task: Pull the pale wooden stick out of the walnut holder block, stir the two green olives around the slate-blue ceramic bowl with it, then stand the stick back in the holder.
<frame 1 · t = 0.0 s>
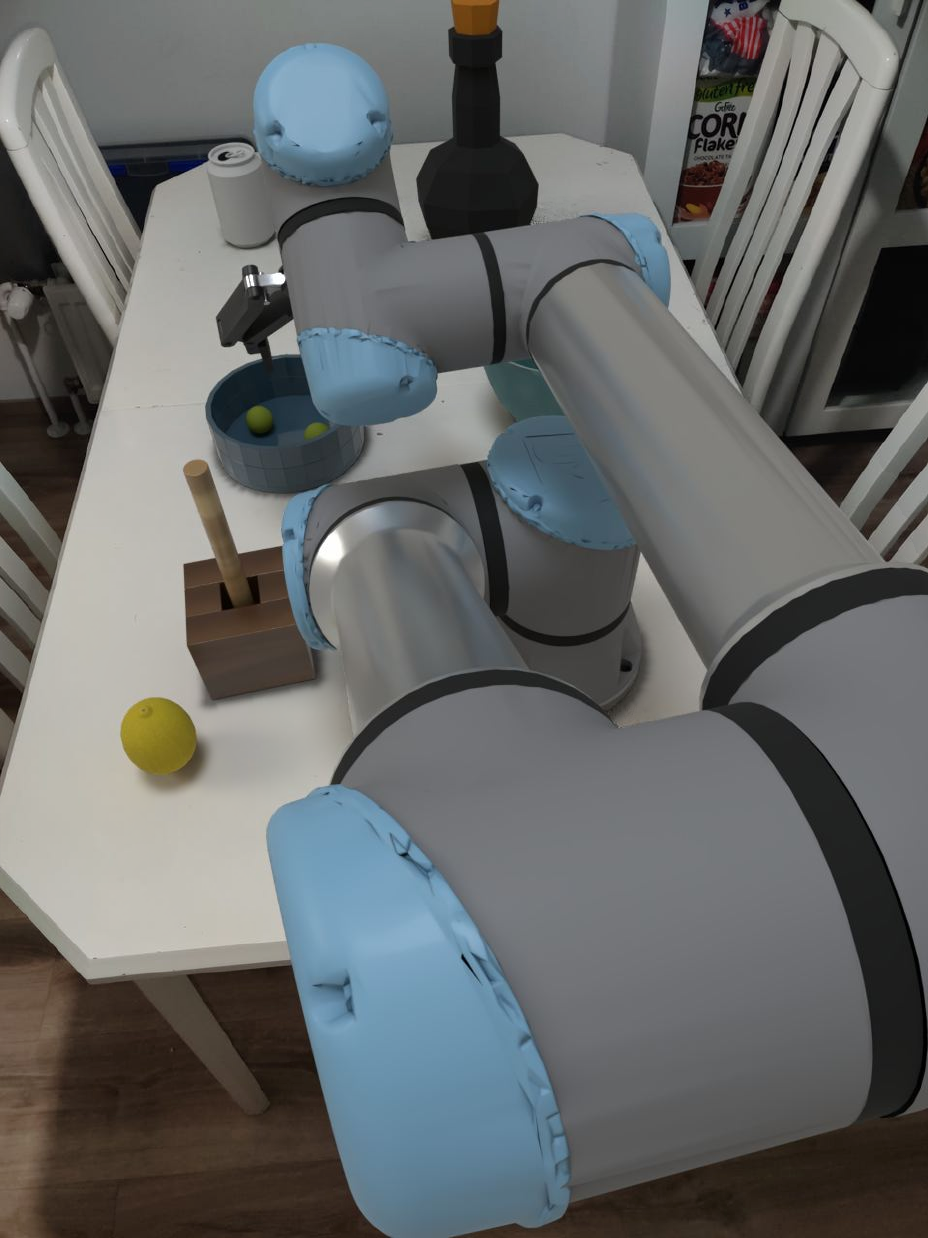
hand: (339, 346, 82), 15 cm above the table, tool tilted 35°, fingers open, 13 cm apart
bottle: (477, 249, 122), on the table
stick holder: (259, 648, 80), on the table
stick: (231, 569, 71), in the stick holder
olive a: (259, 419, 96), point 2 cm above the table, touching bowl
olive b: (318, 436, 94), point 2 cm above the table, touching bowl
can: (250, 238, 126), on the table
lemon: (174, 762, 73), on the table
plant pot: (556, 416, 99), on the table
bowl: (292, 442, 97), on the table
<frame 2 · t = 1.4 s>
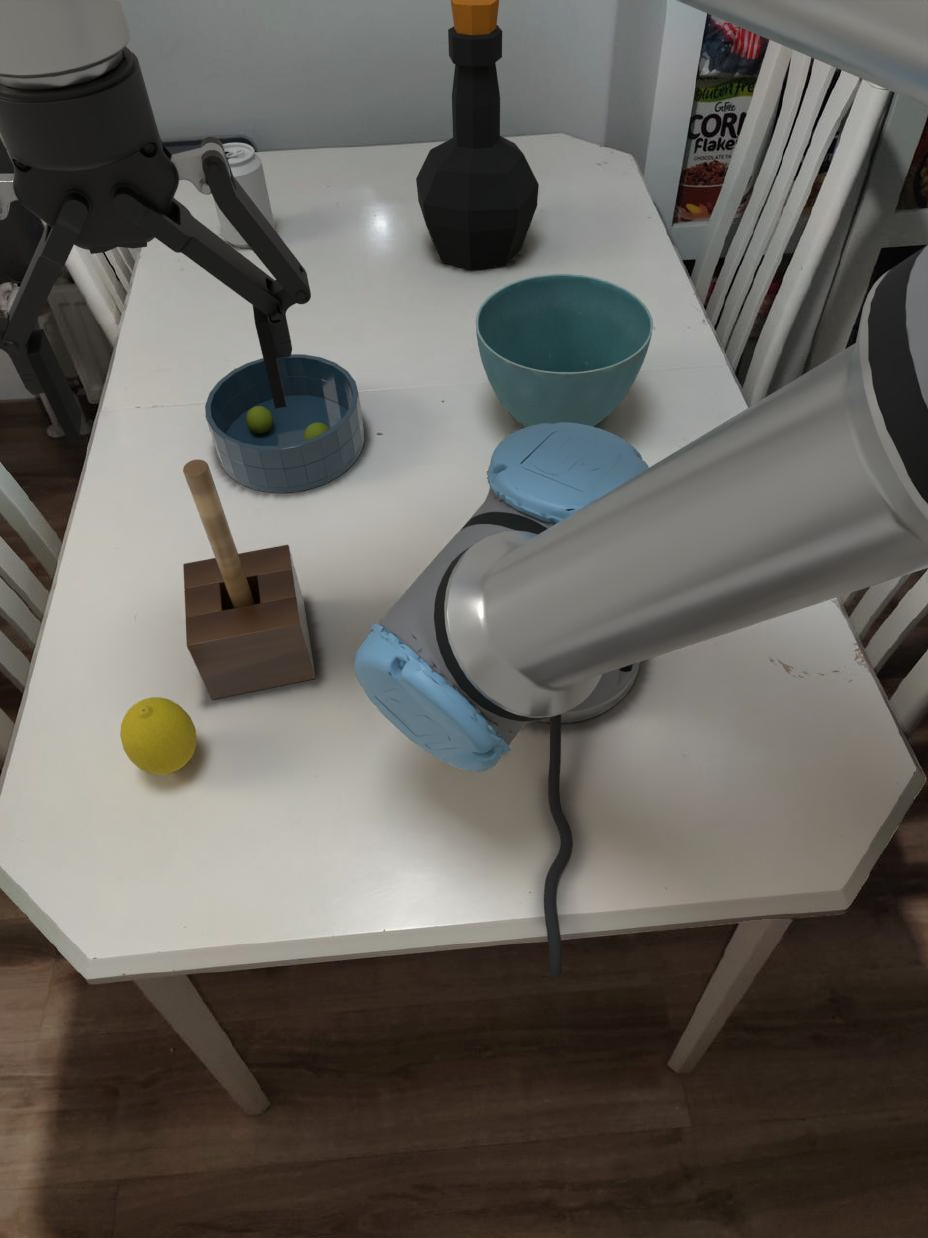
hand: (178, 411, 59), 27 cm above the table, tool pointing down, fingers open, 13 cm apart
nothing on the table moved.
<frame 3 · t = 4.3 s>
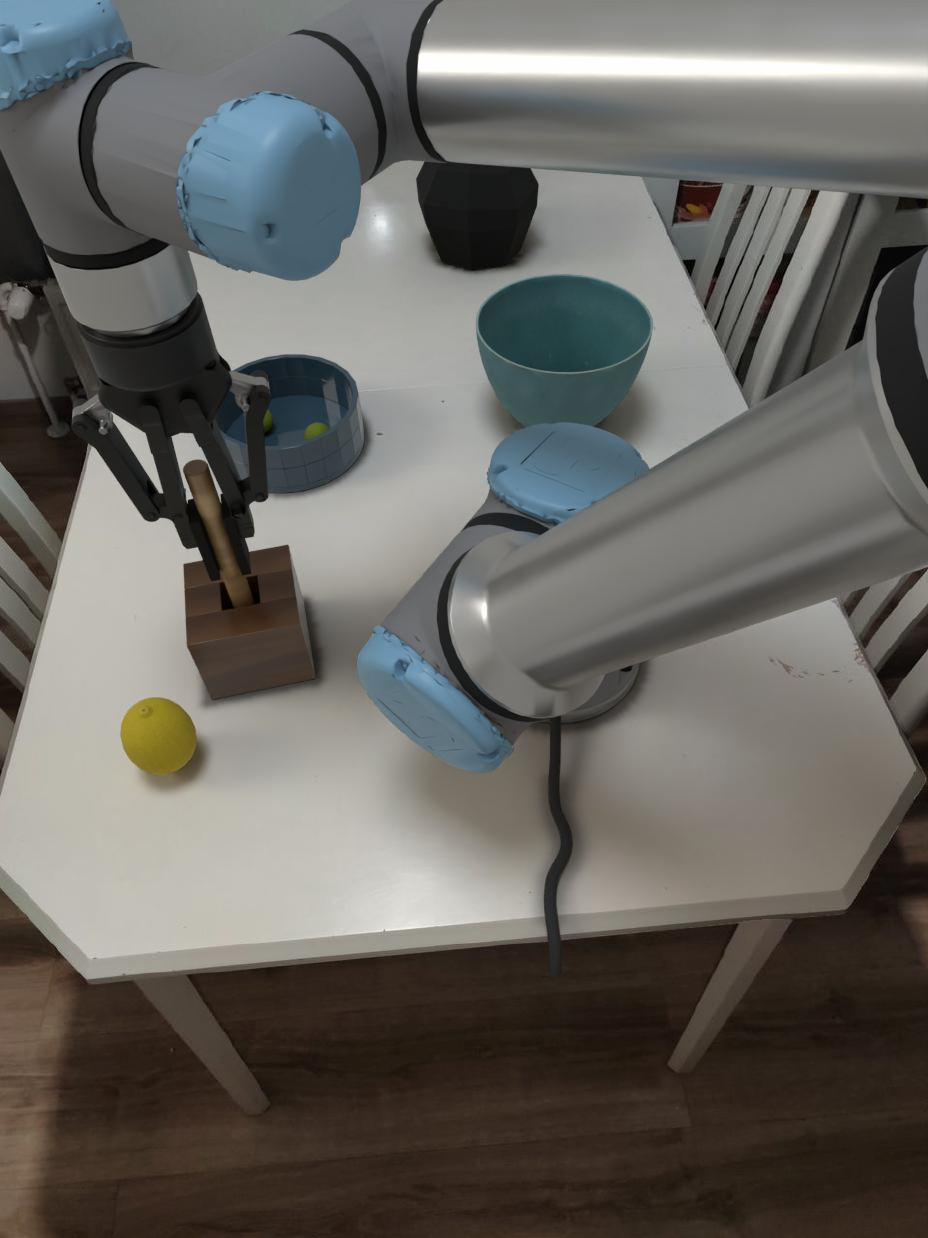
hand: (230, 565, 71), 11 cm above the table, tool pointing down, fingers closed on stick, 2 cm apart
stick: (231, 569, 71), in the stick holder, touching gripper
everything else where it was.
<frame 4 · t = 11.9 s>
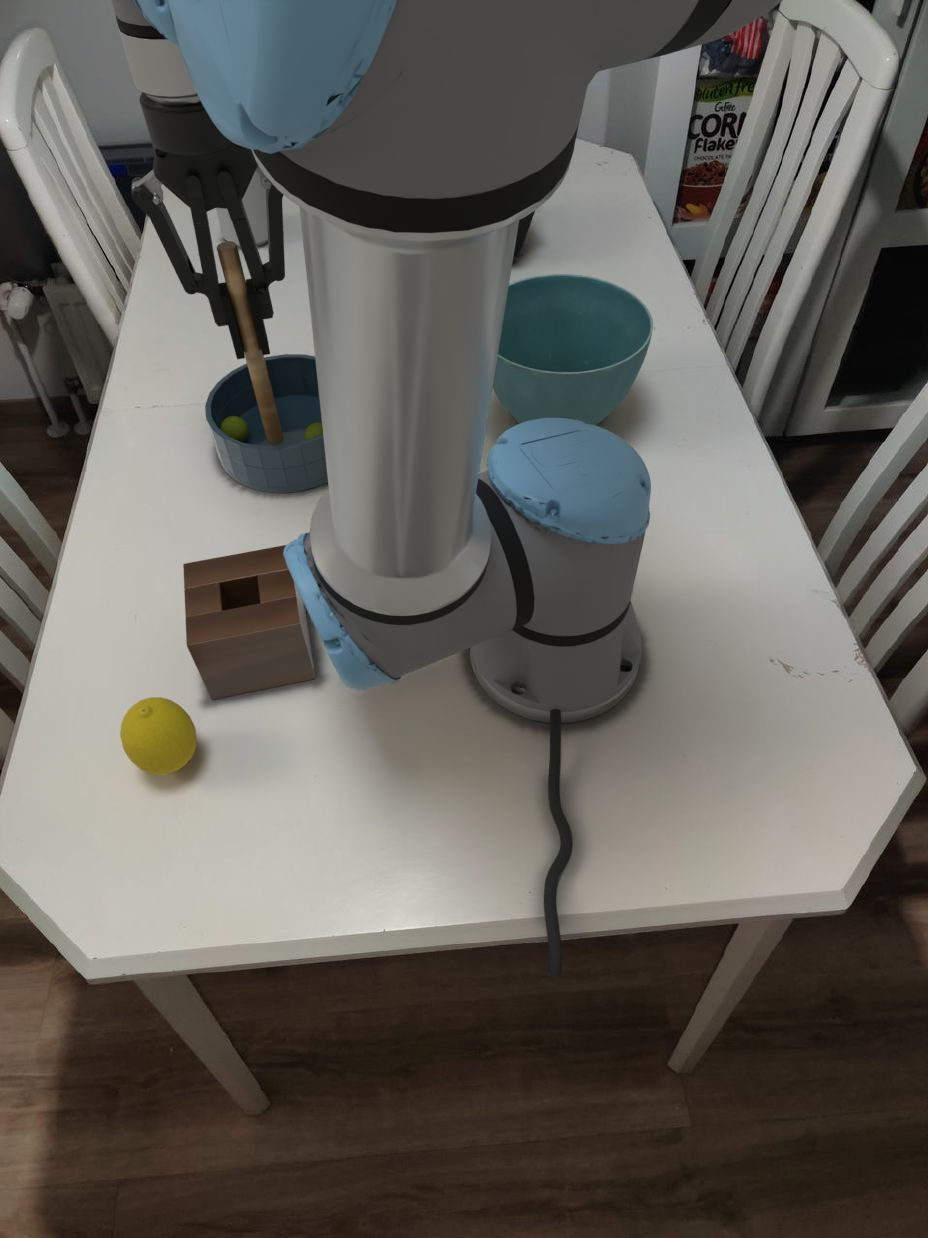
hand: (252, 348, 86), 14 cm above the table, tool pointing down, fingers closed on stick, 2 cm apart
stick: (253, 352, 86), point 13 cm above the table, touching gripper
olive a: (234, 430, 95), point 2 cm above the table, tilted 115°, touching bowl
everything else where it was.
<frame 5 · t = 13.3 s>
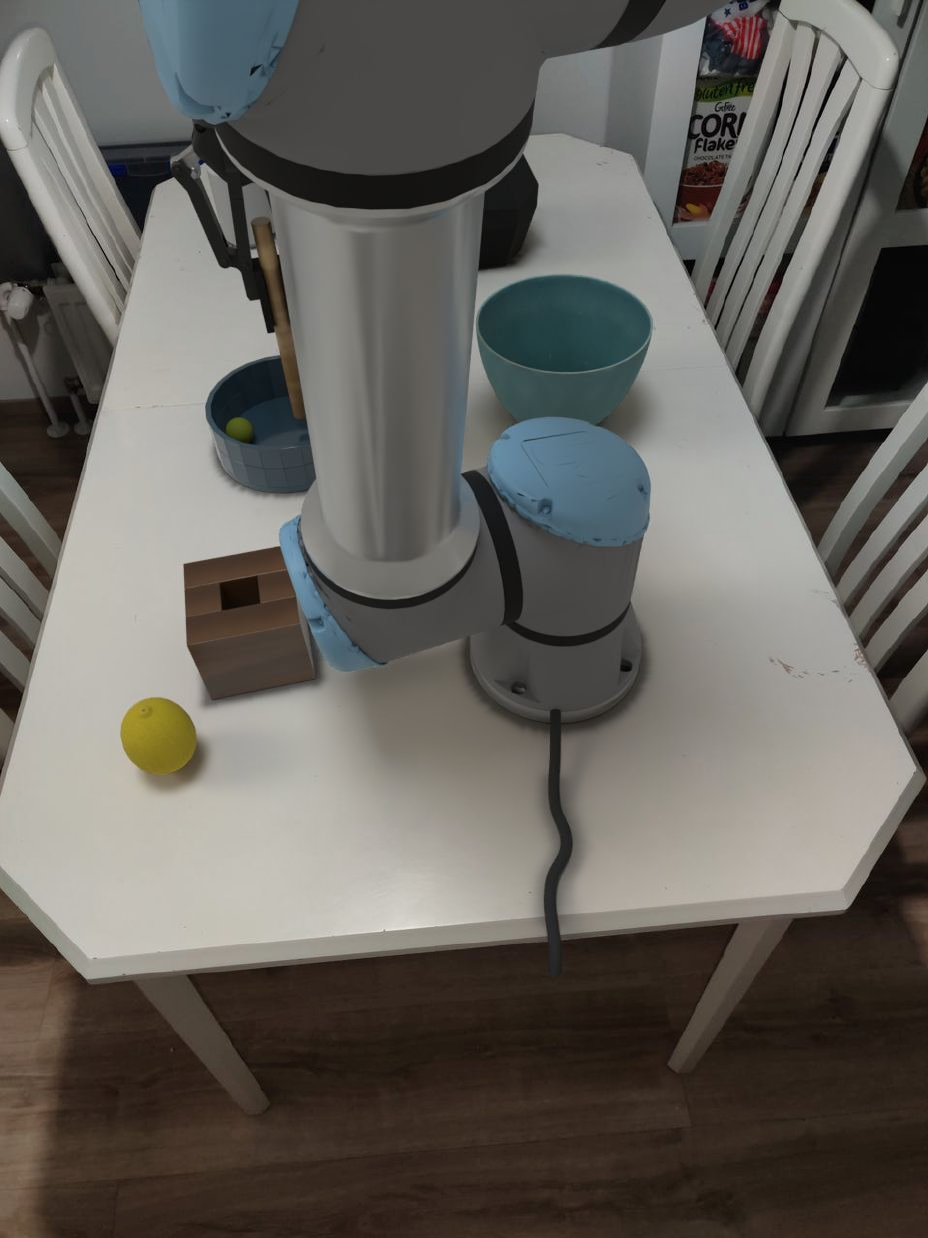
hand: (282, 323, 87), 14 cm above the table, tool pointing down, fingers closed on stick, 2 cm apart
stick: (283, 327, 88), point 14 cm above the table, touching gripper
olive a: (239, 431, 95), point 2 cm above the table, tilted 98°, touching bowl
olive b: (340, 430, 95), point 2 cm above the table, tilted 97°, touching bowl
everything else where it was.
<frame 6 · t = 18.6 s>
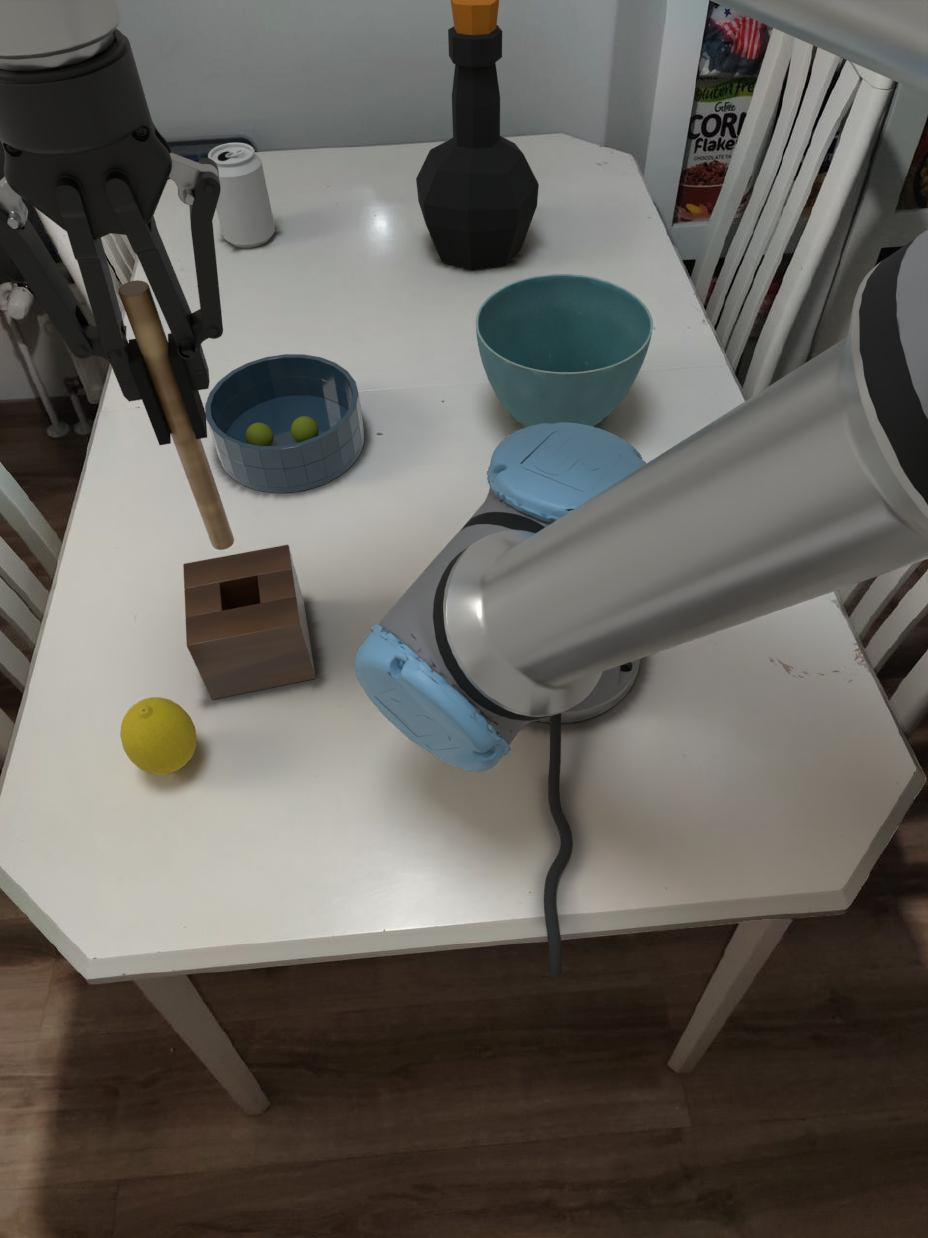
hand: (182, 428, 60), 25 cm above the table, tool pointing down, fingers closed on stick, 2 cm apart
stick: (184, 433, 60), point 25 cm above the table, touching gripper
olive a: (259, 436, 95), point 2 cm above the table, tilted 46°, touching bowl
olive b: (304, 430, 95), point 2 cm above the table, tilted 57°, touching bowl
everything else where it was.
when the fingers open (11 cm above the table, at t = 22.5 s): stick stays where it is, resting in stick holder.
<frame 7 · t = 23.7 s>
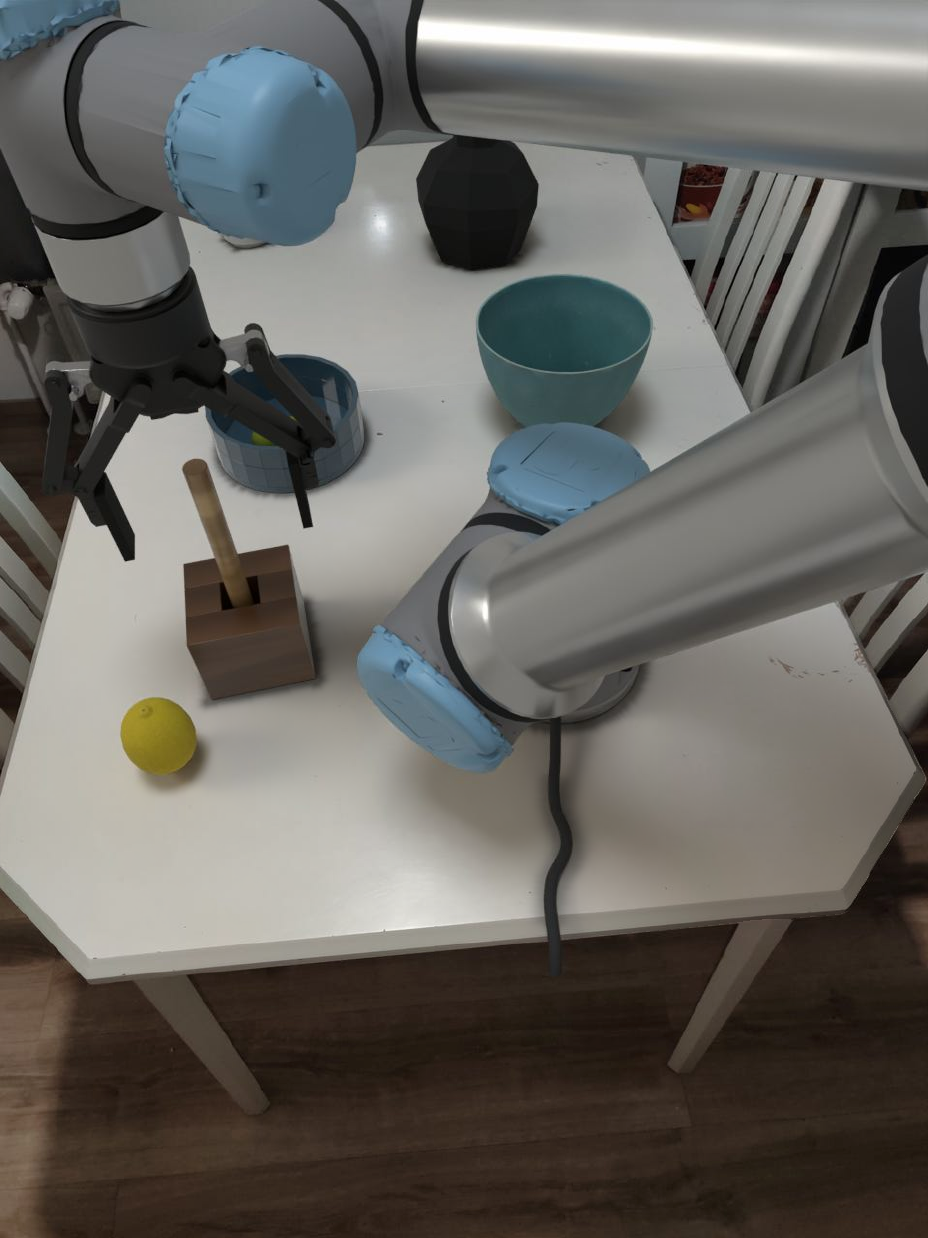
hand: (219, 532, 67), 15 cm above the table, tool pointing down, fingers open, 13 cm apart
stick: (230, 568, 71), in the stick holder
olive a: (265, 438, 94), point 2 cm above the table, tilted 53°, touching bowl
olive b: (293, 430, 95), point 2 cm above the table, tilted 102°, touching bowl
everything else where it was.
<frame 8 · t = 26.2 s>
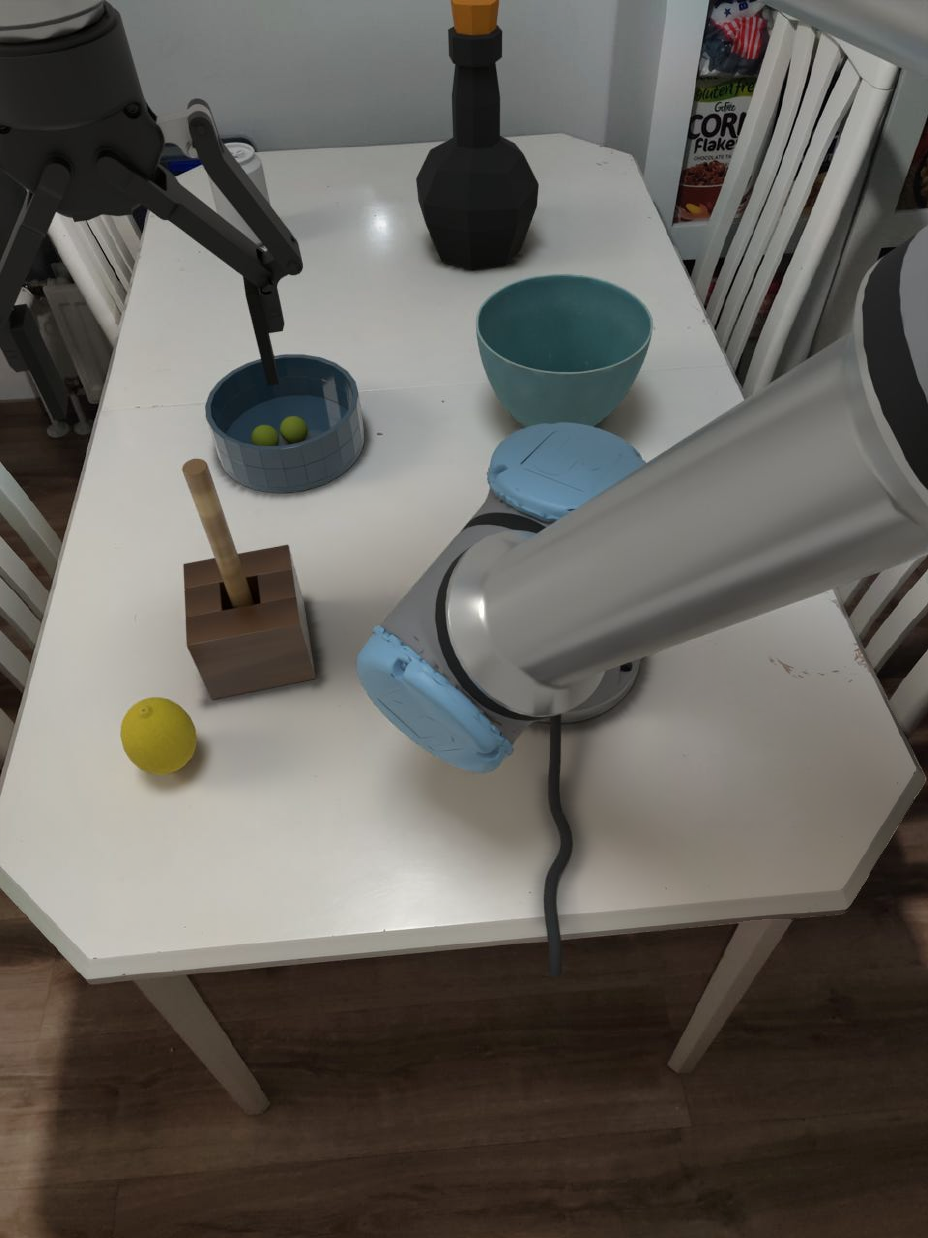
hand: (168, 390, 57), 29 cm above the table, tool pointing down, fingers open, 13 cm apart
nothing on the table moved.
at the end: olive a moved 3.4 cm from its start; olive a inside the target area in the bowl (3.0 cm from its centre), point 2.3 cm above the bowl's base; stick 0.1 cm off-centre in the stick holder, point 11.0 cm above the stick holder's base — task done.
